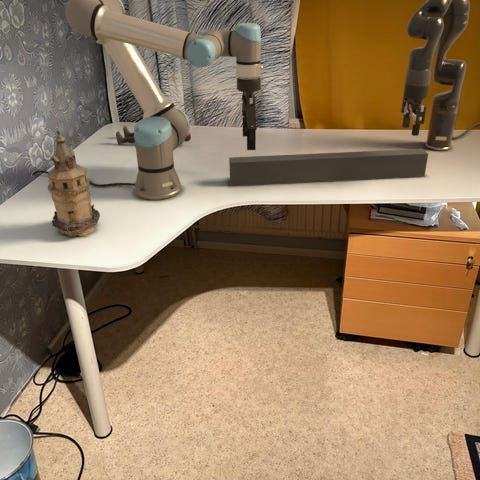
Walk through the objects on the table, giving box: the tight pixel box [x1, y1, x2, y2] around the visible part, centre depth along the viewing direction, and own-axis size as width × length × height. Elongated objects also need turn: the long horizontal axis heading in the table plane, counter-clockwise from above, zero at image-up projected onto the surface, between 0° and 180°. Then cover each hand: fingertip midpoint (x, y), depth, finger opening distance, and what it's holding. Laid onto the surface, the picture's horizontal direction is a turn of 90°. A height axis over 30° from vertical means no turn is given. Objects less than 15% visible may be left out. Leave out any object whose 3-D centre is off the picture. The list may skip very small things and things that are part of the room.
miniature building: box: [46, 129, 101, 237], centre depth 148 cm, size 13×14×30 cm
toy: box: [115, 125, 192, 145], centre depth 218 cm, size 26×6×30 cm
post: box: [228, 148, 429, 187], centre depth 183 cm, size 68×5×8 cm, turn 95°
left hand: (248, 142), depth 177 cm, fingers open, 13 cm apart
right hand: (410, 131), depth 180 cm, fingers open, 8 cm apart
